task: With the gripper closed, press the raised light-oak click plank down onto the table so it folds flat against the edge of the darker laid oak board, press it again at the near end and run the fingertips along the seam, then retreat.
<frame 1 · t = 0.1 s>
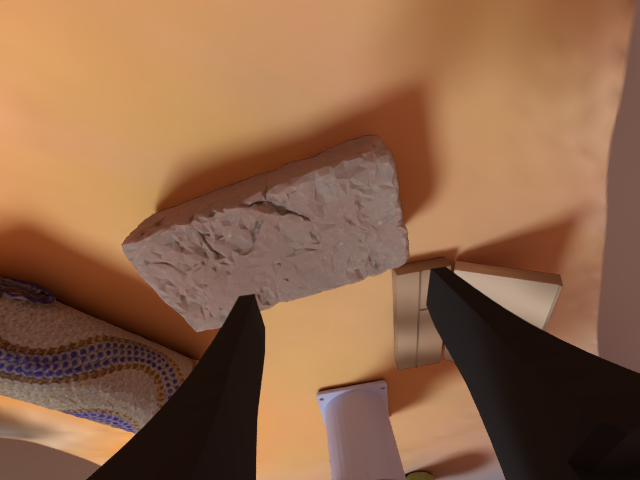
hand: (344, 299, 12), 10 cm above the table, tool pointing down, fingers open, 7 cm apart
click plank: (491, 324, 26), point 2 cm above the table, hinge at 30.0°
brick: (280, 219, 22), on the table
decorative bottle: (72, 307, 24), on the table
laid board: (416, 314, 28), on the table
plant pot: (414, 476, 51), on the table
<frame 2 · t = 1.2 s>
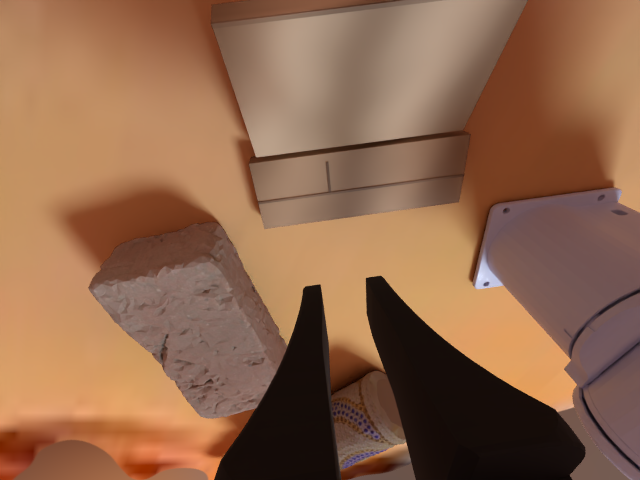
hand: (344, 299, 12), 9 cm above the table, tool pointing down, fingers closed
click plank: (364, 81, 14), point 2 cm above the table, hinge at 30.0°
brick: (217, 308, 25), on the table
decorative bottle: (299, 412, 35), on the table
laid board: (357, 177, 19), on the table
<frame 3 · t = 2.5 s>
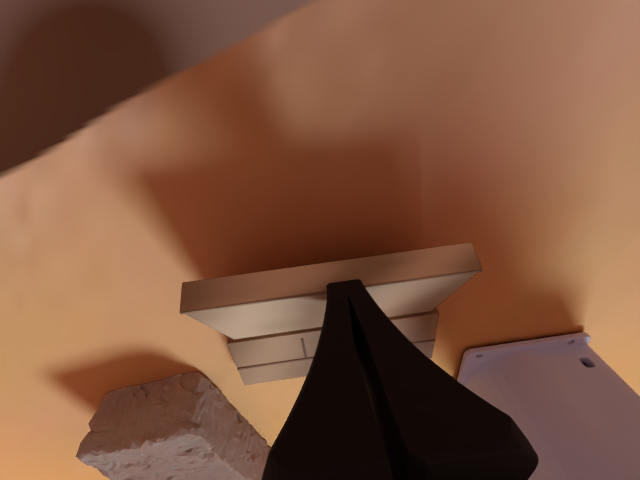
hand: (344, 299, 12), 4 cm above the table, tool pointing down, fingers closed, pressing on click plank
click plank: (331, 300, 15), point 2 cm above the table, hinge at 29.8°, touching gripper
brick: (205, 426, 26), on the table
laid board: (334, 336, 20), on the table
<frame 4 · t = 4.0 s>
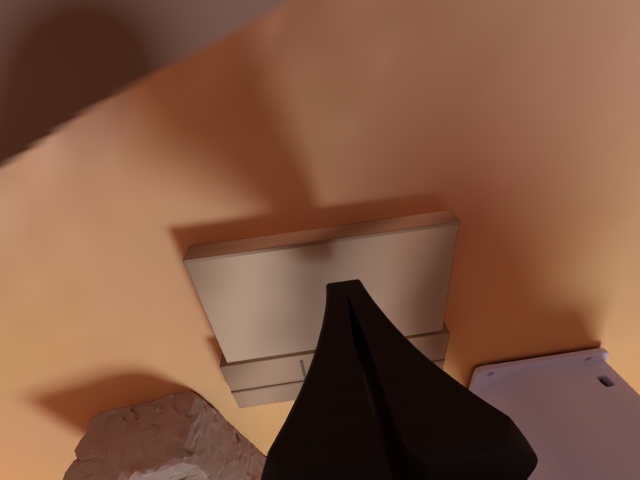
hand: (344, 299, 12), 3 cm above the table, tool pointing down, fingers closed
click plank: (328, 292, 15), point 1 cm above the table, hinge at -1.7°
brick: (203, 445, 25), on the table
laid board: (335, 355, 19), on the table
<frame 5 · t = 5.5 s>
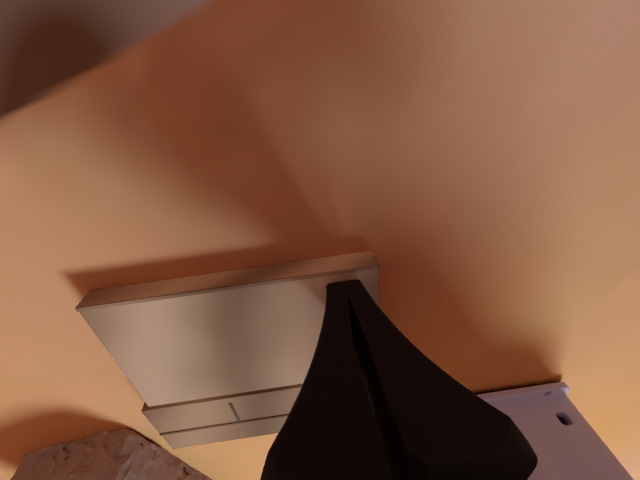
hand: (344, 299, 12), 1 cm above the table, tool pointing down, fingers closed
click plank: (250, 334, 14), point 1 cm above the table, hinge at -2.1°
brick: (155, 476, 23), on the table
laid board: (274, 393, 18), on the table
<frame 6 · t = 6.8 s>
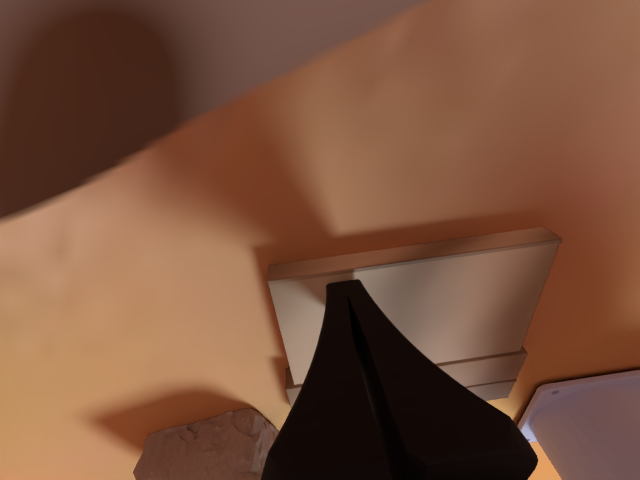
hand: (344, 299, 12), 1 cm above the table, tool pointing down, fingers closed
click plank: (407, 311, 14), point 1 cm above the table, hinge at -2.1°
brick: (254, 460, 24), on the table
laid board: (398, 374, 18), on the table
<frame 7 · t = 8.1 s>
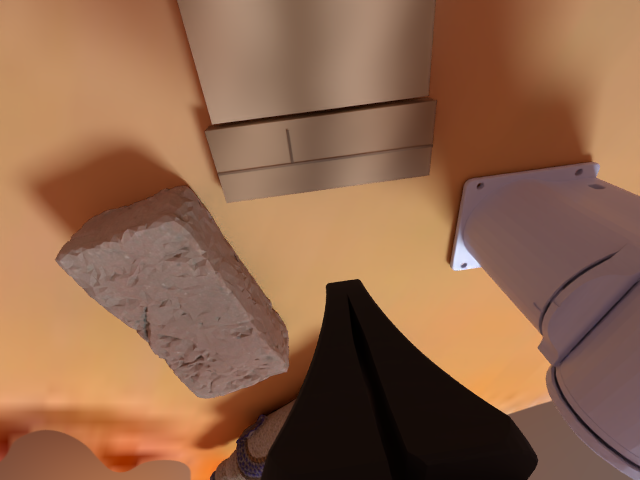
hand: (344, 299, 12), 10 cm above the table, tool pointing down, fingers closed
click plank: (312, 33, 15), point 1 cm above the table, hinge at -2.1°
brick: (203, 283, 24), on the table
decorative bottle: (287, 403, 35), on the table
laid board: (323, 149, 19), on the table
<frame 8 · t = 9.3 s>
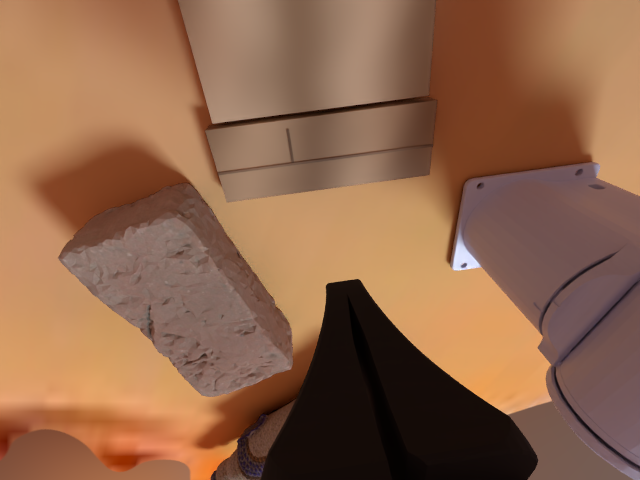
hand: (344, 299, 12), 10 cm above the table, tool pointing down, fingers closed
click plank: (313, 33, 15), point 1 cm above the table, hinge at -2.1°
brick: (206, 281, 24), on the table
decorative bottle: (288, 403, 35), on the table
laid board: (323, 148, 19), on the table
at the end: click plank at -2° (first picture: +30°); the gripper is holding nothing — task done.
